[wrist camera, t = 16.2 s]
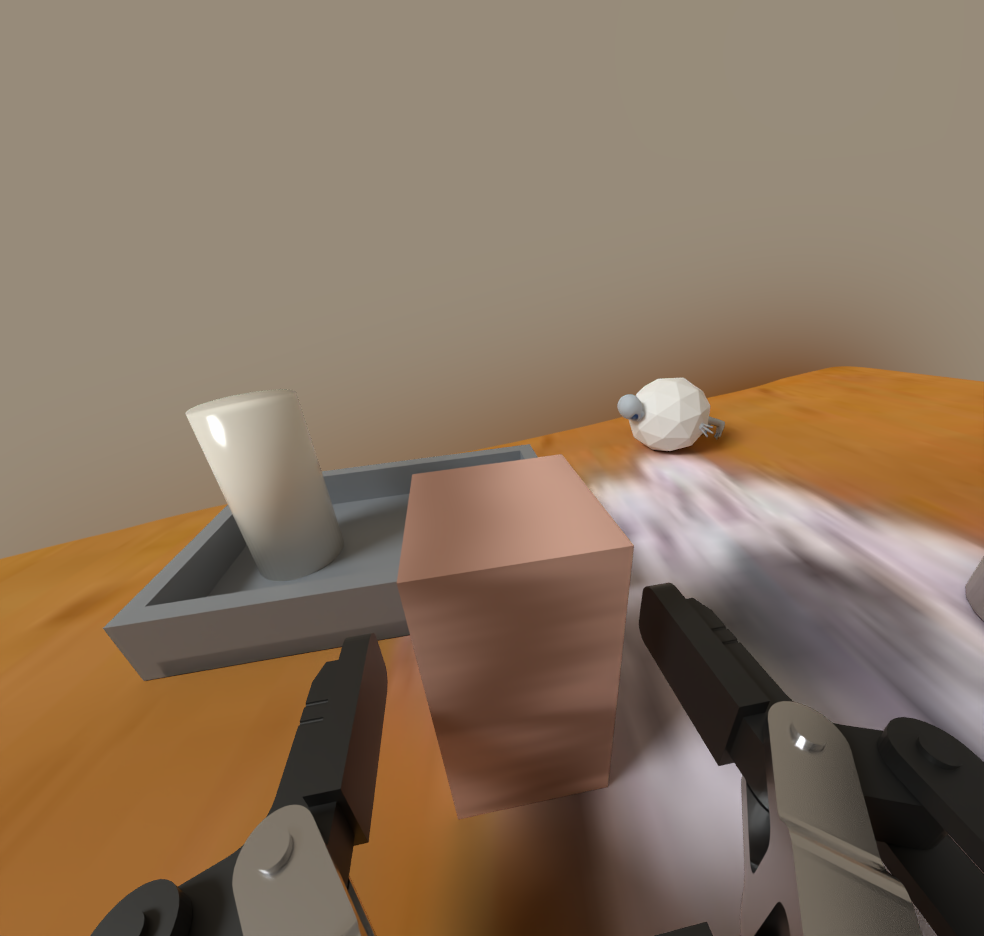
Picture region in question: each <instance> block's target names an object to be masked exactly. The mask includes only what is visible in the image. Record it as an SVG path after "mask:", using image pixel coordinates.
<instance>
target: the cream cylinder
mask: <svg viewBox="0 0 984 936" xmlns="http://www.w3.org/2000/svg"><path fill="white" fill-rule="evenodd" d="M185 414H186V416H187V418H188V420H189V422H190V424H191V427H192V429H193V431H194V433H195V435H196V437H197V439H198V441H199V444H200V446H201V448H202V450H203V452H204V454H205V456H206V459H207V461H208V463H209V465H210V467H211V469H212V471H213V473H214V476H215V478H216V480H217V482H218V484H219V486H220V488H221V490H222V493H223V495H224V497H225V499H226V501H227V503H228V505H229V508H230V510H231V512H232V514H233V516H234V518H235V520H236V523H237V525H238V527H239V529H240V531H241V533H242V535H243V537H244V540H245V542H246V544H247V546H248V548H249V550H250V552H251V554H252V557H253V559H254V561H255V563H256V565H257V567H258V569H259V572H260V574H261V575H262V576H263V577H264V578H266V579H268V580H272V581H288V580H294V579H298V578H301V577H304V576H307V575H310V574H312V573H314V572H316V571H318V570H320V569H322V568H323V567H325V566H326V565H328V564H329V563H330V562H332V561H333V560H334V559H335V558H336V557H337V556H338V555H339V553H340V552H341V550H342V548H343V545H344V540H343V536H342V533H341V530H340V527H339V524H338V521H337V518H336V515H335V511H334V508H333V505H332V502H331V499H330V496H329V493H328V490H327V487H326V484H325V480H324V477H323V474H322V471H321V468H320V465H319V462H318V459H317V456H316V453H315V450H314V446H313V443H312V440H311V437H310V434H309V431H308V428H307V425H306V422H305V419H304V415H303V412H302V409H301V406H300V403H299V400H298V397H297V394H296V392H295V391H293V390H267V391H258V392H251V393H246V394H239V395H235V396H230V397H225V398H222V399H218V400H214V401H210V402H207V403H204V404H201V405H198V406H196V407H193V408H191V409H190V410H188V411H187V412H186V413H185Z"/></svg>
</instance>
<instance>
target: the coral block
mask: <svg viewBox="0 0 984 936" xmlns="http://www.w3.org/2000/svg"><path fill="white" fill-rule="evenodd" d="M633 548H634V545H633V544H632V543H631V541H630V540H629V539H628V538H627V536H626V535H625V534H624V533H623V531H622V530H621V529H620V527H619V526H618V525H617V524H616V522H615V521H614V520H613V519H612V517H611V516H610V515H609V514H608V512H607V511H606V510H605V508H604V507H603V506H602V505H601V503H600V502H599V501H598V500H597V498H596V497H595V496H594V495H593V493H592V492H591V491H590V489H589V488H588V487H587V486H586V484H585V483H584V482H583V481H582V479H581V478H580V477H579V476H578V474H577V473H576V472H575V471H574V469H573V468H572V467H571V465H570V464H569V463H568V462H567V460H566V459H565V458H564V457H563V455H562V454H560V455H553V456H546V457H538V458H531V459H523V460H516V461H508V462H501V463H493V464H486V465H478V466H471V467H464V468H456V469H449V470H441V471H434V472H426V473H419V474H412V480H411V487H410V494H409V501H408V508H407V515H406V522H405V529H404V536H403V542H402V549H401V556H400V563H399V570H398V577H397V587H398V590H399V594H400V598H401V602H402V606H403V610H404V613H405V617H406V621H407V625H408V629H409V632H410V636H411V640H412V644H413V648H414V652H415V655H416V659H417V663H418V667H419V671H420V675H421V678H422V682H423V686H424V690H425V694H426V698H427V701H428V705H429V709H430V713H431V717H432V720H433V724H434V728H435V732H436V736H437V740H438V743H439V747H440V751H441V755H442V759H443V763H444V766H445V770H446V774H447V778H448V782H449V785H450V789H451V793H452V797H453V801H454V805H455V808H456V812H457V816H458V819H462V818H467V817H471V816H476V815H480V814H485V813H490V812H494V811H499V810H503V809H508V808H513V807H517V806H522V805H527V804H531V803H536V802H540V801H545V800H550V799H554V798H559V797H563V796H568V795H573V794H577V793H582V792H586V791H591V790H596V789H600V788H605V787H608V780H609V771H610V762H611V753H612V743H613V734H614V725H615V715H616V706H617V697H618V688H619V678H620V669H621V660H622V650H623V641H624V632H625V623H626V613H627V604H628V595H629V585H630V576H631V567H632V558H633Z"/></svg>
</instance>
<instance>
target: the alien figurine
mask: <svg viewBox="0 0 984 936" xmlns="http://www.w3.org/2000/svg"><path fill="white" fill-rule="evenodd" d="M618 410H619V412H620V414H621V415H622V416H623V417H624V418H626V419H629V422H630V426H631V429H632V432H633V436H634V438H636V439H637V440H639V441H640V442H642V443H643V444H645V445H646V446H648V447H649V448H650V449H652V450H662V451H673V450H676V449H680V448H684V447H687V446H691V445H692V444H693V443H694V442H695V441H696V440H697V439H698V438H699V437H700V435H701V434H703V433H704V434H705V436H706V437H708V435H707V434H706V433H707V431H708V432H710V433H712V434H714V433H713V432H712V431H711V430H709V427H710V428H713V426H710V425H711V424H712V425H715V426H717V429H716V434H715V435H714V437H715V438H716V440H717V439H718V437H721V434H722V431H723V429H724V426H725V422H723V421H721V420H718V419H715V418H712V417H710V416H709V412H710V404H709V402H708V400H707V398H706V397H705V395H704V392H703V391H702V390H700V389H699V388H697V387H696V386H694V385H693V384H692V383H690V382H688V380H686V379H685V378H666V379H657V380H655V381H653V382H651V383H650V384H648V385H646V386H644V387H643V388H642V389H641V390H640V391H639V393H637V394H636V396H635V395H632V394H629V395H625V396H623V397H622V398H620V400H619V402H618Z"/></svg>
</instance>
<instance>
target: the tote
mask: <svg viewBox="0 0 984 936" xmlns="http://www.w3.org/2000/svg"><path fill="white" fill-rule="evenodd" d="M531 458H538V457H537V456H536V454H535V452H534V451H533V449H532V448H531V446H530V444H528V445H521V446H513V447H506V448H498V449H490V450H483V451H475V452H467V453H460V454H452V455H445V456H438V457H429V458H422V459H414V460H407V461H399V462H391V463H384V464H376V465H368V466H361V467H353V468H345V469H338V470H331V471H323V472H322V474H323V477H324V480H325V484H326V487H327V490H328V493H329V496H330V499H331V502H332V505H333V508H334V511H335V515H336V518H337V521H338V524H339V527H340V530H341V533H342V536H343V540H344V545H343V548H342V550H341V552H340V553H339V555H338V556H337V557H336V558H335V559H334V560H333V561H332V562H330V563H329V564H328V565H326V566H325V567H323V568H322V569H320V570H318V571H316V572H314V573H312V574H310V575H307V576H304V577H301V578H298V579H294V580H288V581H272V580H268V579H266V578H264V577H263V576H262V575H261V574H260V572H259V569H258V567H257V565H256V563H255V561H254V559H253V557H252V554H251V552H250V550H249V548H248V546H247V544H246V542H245V540H244V537H243V535H242V533H241V531H240V529H239V527H238V525H237V523H236V520H235V518H234V516H233V514H232V512H231V510H230V508H229V505H227V506H226V507H225V508H224V509H223V510H222V511H221V512H220V513H219V514H218V515H217V516H216V517H215V518H214V519H213V520H212V521H211V522H210V523H209V524H208V525H207V526H206V527H205V528H204V529H203V530H202V531H201V532H200V533H199V534H198V535H197V536H196V537H195V538H194V539H193V540H192V541H191V542H190V543H189V544H188V545H187V546H186V547H185V548H184V549H183V550H182V551H181V552H180V553H179V554H178V555H177V556H176V557H175V558H174V559H173V560H172V561H171V562H170V563H169V564H168V565H166V566H165V567H164V568H163V569H162V570H161V571H160V572H159V573H158V574H157V575H156V576H155V577H154V578H153V579H152V580H151V581H150V582H149V583H148V584H147V585H146V586H145V587H144V588H143V589H142V590H141V591H140V592H139V593H138V594H137V595H136V596H135V597H134V598H133V599H132V600H131V601H130V602H129V603H128V604H127V605H126V606H125V607H124V608H123V609H122V610H121V611H120V612H119V613H118V614H117V615H116V616H115V617H114V618H113V619H112V620H111V621H110V622H109V623H108V624H107V625H106V626H105V627H104V628H103V629H104V630H105V632H106V633H107V634H108V636H109V637H110V638H111V639H112V641H113V642H114V643H115V644H116V646H117V647H118V648H119V650H120V651H121V652H122V653H123V655H124V656H125V657H126V659H127V660H128V661H129V662H130V664H131V665H132V666H133V668H134V669H135V670H136V671H137V673H138V674H139V675H140V677H141V678H142V679H143V680H144V681H145V680H151V679H157V678H162V677H168V676H174V675H180V674H186V673H191V672H197V671H203V670H209V669H214V668H220V667H226V666H232V665H238V664H243V663H249V662H255V661H261V660H267V659H272V658H278V657H284V656H290V655H296V654H301V653H307V652H313V651H319V650H324V649H330V648H336V647H342V646H343V642H344V640H345V639H346V638H347V637H353V636H358V635H364V634H370V633H374V634H375V635H376V638H377V640H382V639H388V638H394V637H400V636H405V635H410V632H409V629H408V625H407V621H406V617H405V613H404V610H403V606H402V602H401V598H400V594H399V590H398V587H397V577H398V570H399V563H400V556H401V549H402V542H403V536H404V529H405V522H406V515H407V508H408V501H409V494H410V487H411V480H412V474H419V473H426V472H434V471H441V470H449V469H456V468H464V467H471V466H478V465H486V464H493V463H501V462H508V461H516V460H523V459H531Z"/></svg>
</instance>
